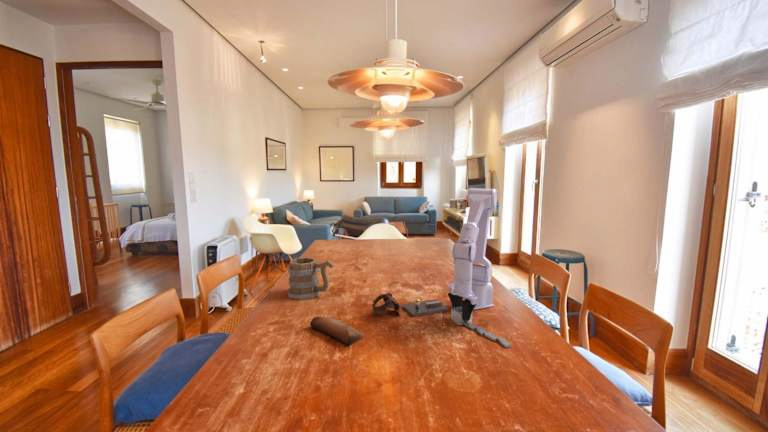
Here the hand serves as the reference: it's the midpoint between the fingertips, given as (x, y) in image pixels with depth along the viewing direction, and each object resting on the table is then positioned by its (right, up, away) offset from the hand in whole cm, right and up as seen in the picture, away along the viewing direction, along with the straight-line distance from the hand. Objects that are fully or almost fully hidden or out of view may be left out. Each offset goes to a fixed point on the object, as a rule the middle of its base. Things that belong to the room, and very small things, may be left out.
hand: (461, 317), depth 111 cm
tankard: (-56, +2, +23) cm, 60 cm away
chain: (+6, -3, -9) cm, 11 cm away
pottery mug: (-25, -1, +6) cm, 26 cm away
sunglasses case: (-40, -3, -8) cm, 41 cm away
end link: (0, -1, 0) cm, 1 cm away
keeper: (-11, 0, +10) cm, 15 cm away
